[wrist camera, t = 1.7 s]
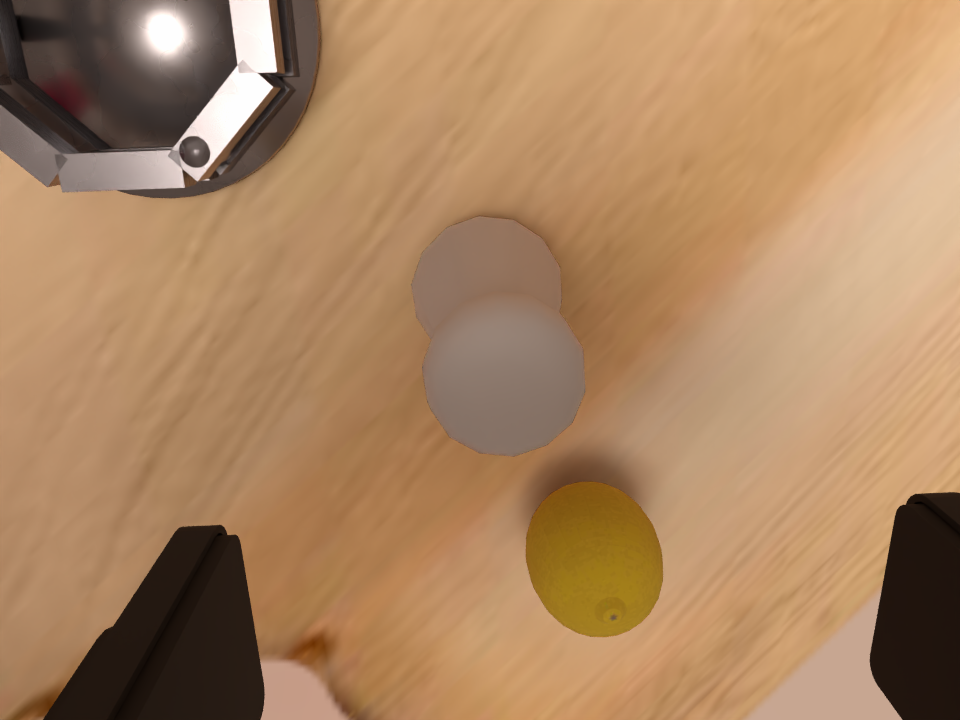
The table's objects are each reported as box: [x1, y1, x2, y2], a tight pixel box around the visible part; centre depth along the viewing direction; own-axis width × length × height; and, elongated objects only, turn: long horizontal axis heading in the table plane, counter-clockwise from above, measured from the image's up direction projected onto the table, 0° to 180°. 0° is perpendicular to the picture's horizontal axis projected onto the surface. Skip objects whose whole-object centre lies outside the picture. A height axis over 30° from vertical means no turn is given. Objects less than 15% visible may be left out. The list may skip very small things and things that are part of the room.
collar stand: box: [0, 0, 320, 198], centre depth 24 cm, size 12×12×5 cm
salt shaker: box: [411, 216, 585, 456], centre depth 24 cm, size 6×6×13 cm
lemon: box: [526, 481, 663, 637], centre depth 30 cm, size 6×6×8 cm
